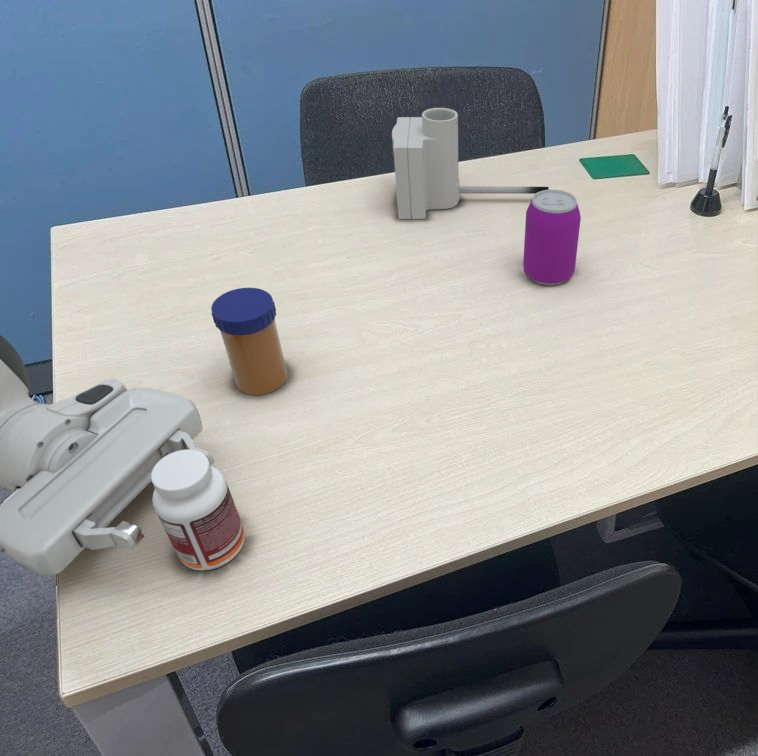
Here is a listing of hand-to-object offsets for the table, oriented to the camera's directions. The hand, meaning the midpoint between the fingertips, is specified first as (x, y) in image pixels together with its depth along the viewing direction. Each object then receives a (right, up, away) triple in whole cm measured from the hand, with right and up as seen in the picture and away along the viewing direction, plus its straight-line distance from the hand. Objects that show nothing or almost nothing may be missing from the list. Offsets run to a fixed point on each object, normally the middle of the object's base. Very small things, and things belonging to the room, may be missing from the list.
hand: (174, 499), depth 64 cm
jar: (+1, +11, +21) cm, 24 cm away
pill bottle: (+2, -5, +4) cm, 7 cm away
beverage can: (+37, +26, +41) cm, 61 cm away
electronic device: (+25, +41, +57) cm, 74 cm away
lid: (+1, +19, +14) cm, 24 cm away
